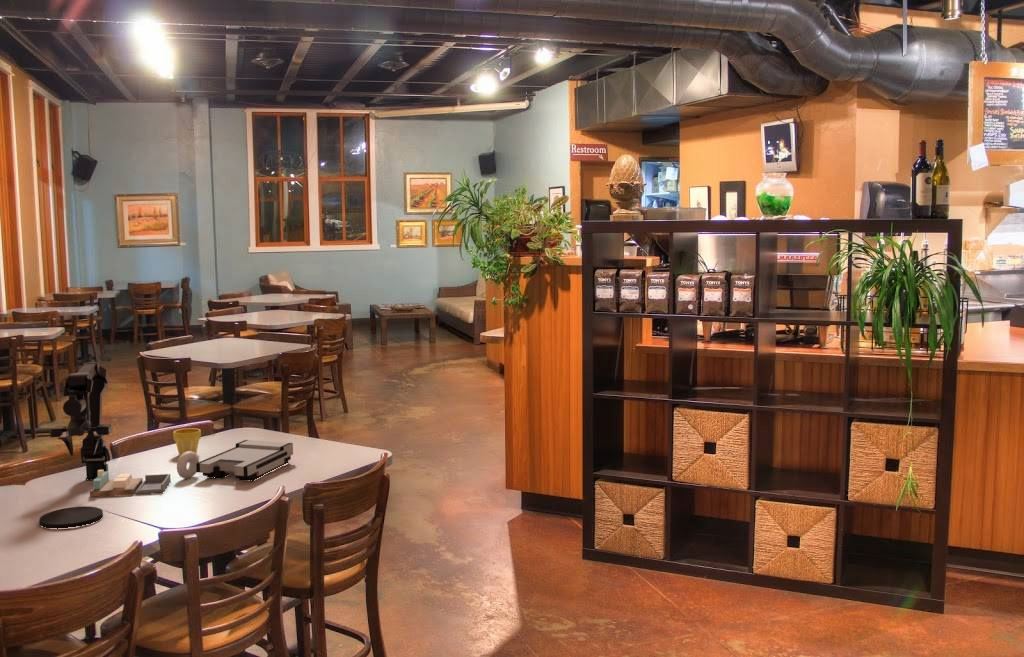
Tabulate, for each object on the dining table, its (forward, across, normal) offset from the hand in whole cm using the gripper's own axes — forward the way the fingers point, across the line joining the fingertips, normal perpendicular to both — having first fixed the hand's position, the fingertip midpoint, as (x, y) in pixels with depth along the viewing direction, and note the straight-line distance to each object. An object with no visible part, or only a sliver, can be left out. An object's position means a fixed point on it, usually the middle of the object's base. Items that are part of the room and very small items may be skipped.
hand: (82, 455), depth 309 cm
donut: (+13, +32, +11) cm, 37 cm away
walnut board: (+13, +10, 0) cm, 17 cm away
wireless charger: (+14, +4, -32) cm, 35 cm away
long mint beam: (+11, +5, 0) cm, 12 cm away
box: (+13, +22, 0) cm, 26 cm away
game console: (+14, +52, +16) cm, 56 cm away
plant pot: (+13, +27, +48) cm, 56 cm away
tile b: (+11, +12, +2) cm, 17 cm away
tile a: (+11, +12, -2) cm, 17 cm away
